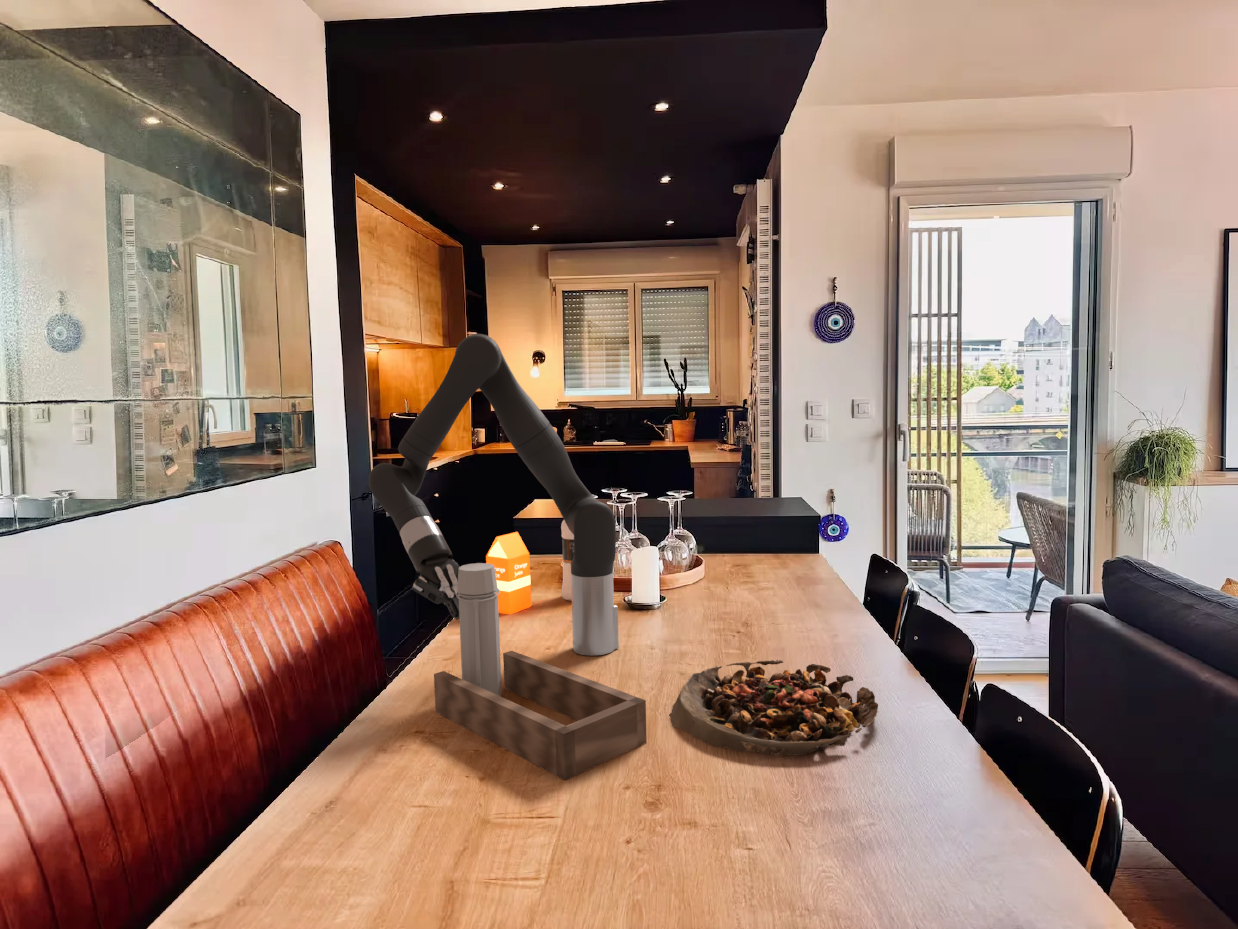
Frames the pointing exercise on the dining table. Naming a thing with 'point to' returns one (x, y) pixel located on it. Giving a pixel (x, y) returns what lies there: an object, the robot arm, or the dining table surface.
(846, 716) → the food dish
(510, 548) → the orange juice
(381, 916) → the dining table surface
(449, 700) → the bottle rest
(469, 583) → the water bottle
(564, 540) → the vodka
